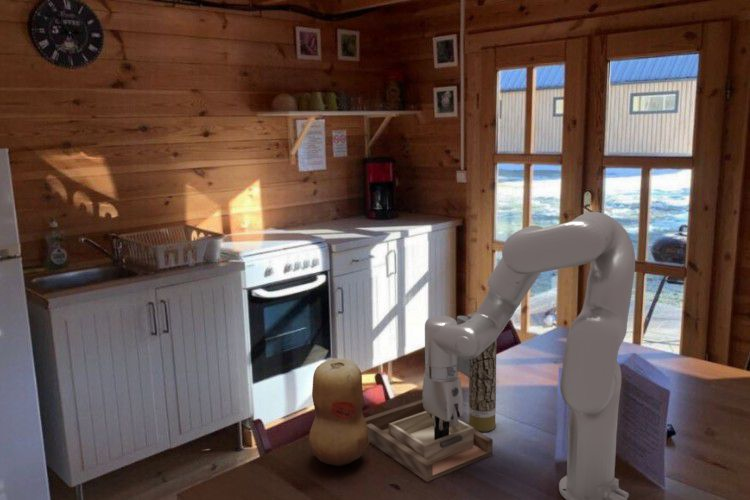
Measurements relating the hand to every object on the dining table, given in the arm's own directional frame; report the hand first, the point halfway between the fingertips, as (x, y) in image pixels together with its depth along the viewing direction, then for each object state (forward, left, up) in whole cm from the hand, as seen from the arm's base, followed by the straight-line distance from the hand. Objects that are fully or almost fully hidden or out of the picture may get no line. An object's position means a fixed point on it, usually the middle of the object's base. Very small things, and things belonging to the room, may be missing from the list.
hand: (441, 442), depth 156 cm
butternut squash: (+12, +21, -4) cm, 25 cm away
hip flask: (+31, -39, -4) cm, 50 cm away
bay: (+6, 0, -4) cm, 7 cm away
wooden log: (+5, -18, -4) cm, 19 cm away
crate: (+4, 0, -2) cm, 4 cm away
